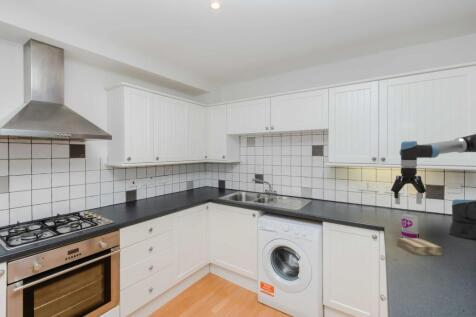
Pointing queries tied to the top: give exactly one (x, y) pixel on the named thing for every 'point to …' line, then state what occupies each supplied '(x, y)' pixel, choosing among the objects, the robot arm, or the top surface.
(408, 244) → the oak base
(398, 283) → the top surface
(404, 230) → the supplement can
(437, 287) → the top surface
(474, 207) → the robot arm
